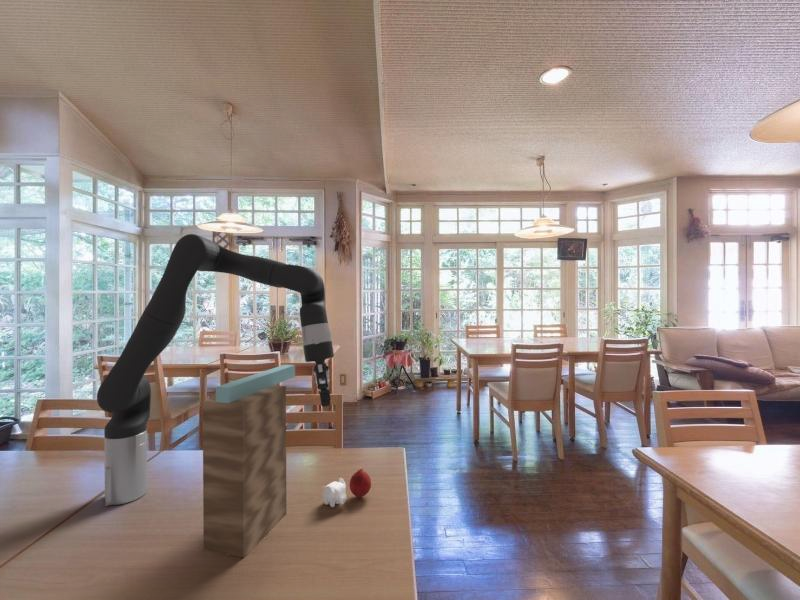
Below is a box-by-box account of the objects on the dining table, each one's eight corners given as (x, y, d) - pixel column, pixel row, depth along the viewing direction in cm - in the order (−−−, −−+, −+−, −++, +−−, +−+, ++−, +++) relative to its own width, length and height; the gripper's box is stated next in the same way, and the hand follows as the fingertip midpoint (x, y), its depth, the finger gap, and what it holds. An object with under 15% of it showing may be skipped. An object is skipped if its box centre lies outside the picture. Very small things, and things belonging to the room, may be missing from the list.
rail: (228, 403, 76) (228, 387, 76) (215, 402, 77) (215, 386, 77) (295, 376, 101) (294, 365, 101) (284, 376, 102) (284, 364, 102)
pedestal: (243, 558, 76) (242, 404, 75) (203, 549, 78) (202, 400, 78) (286, 513, 91) (285, 386, 91) (251, 507, 94) (251, 383, 93)
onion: (367, 504, 95) (367, 474, 95) (346, 502, 96) (346, 472, 96) (373, 493, 101) (373, 464, 101) (353, 490, 102) (353, 462, 102)
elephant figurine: (336, 515, 90) (336, 491, 90) (313, 505, 95) (313, 482, 95) (353, 502, 96) (353, 480, 96) (331, 493, 101) (331, 472, 100)
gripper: (305, 345, 104) (313, 403, 101) (300, 343, 90) (310, 410, 88) (331, 341, 105) (340, 398, 103) (331, 338, 91) (341, 404, 89)
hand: (326, 403), depth 95 cm, fingers open, 8 cm apart
